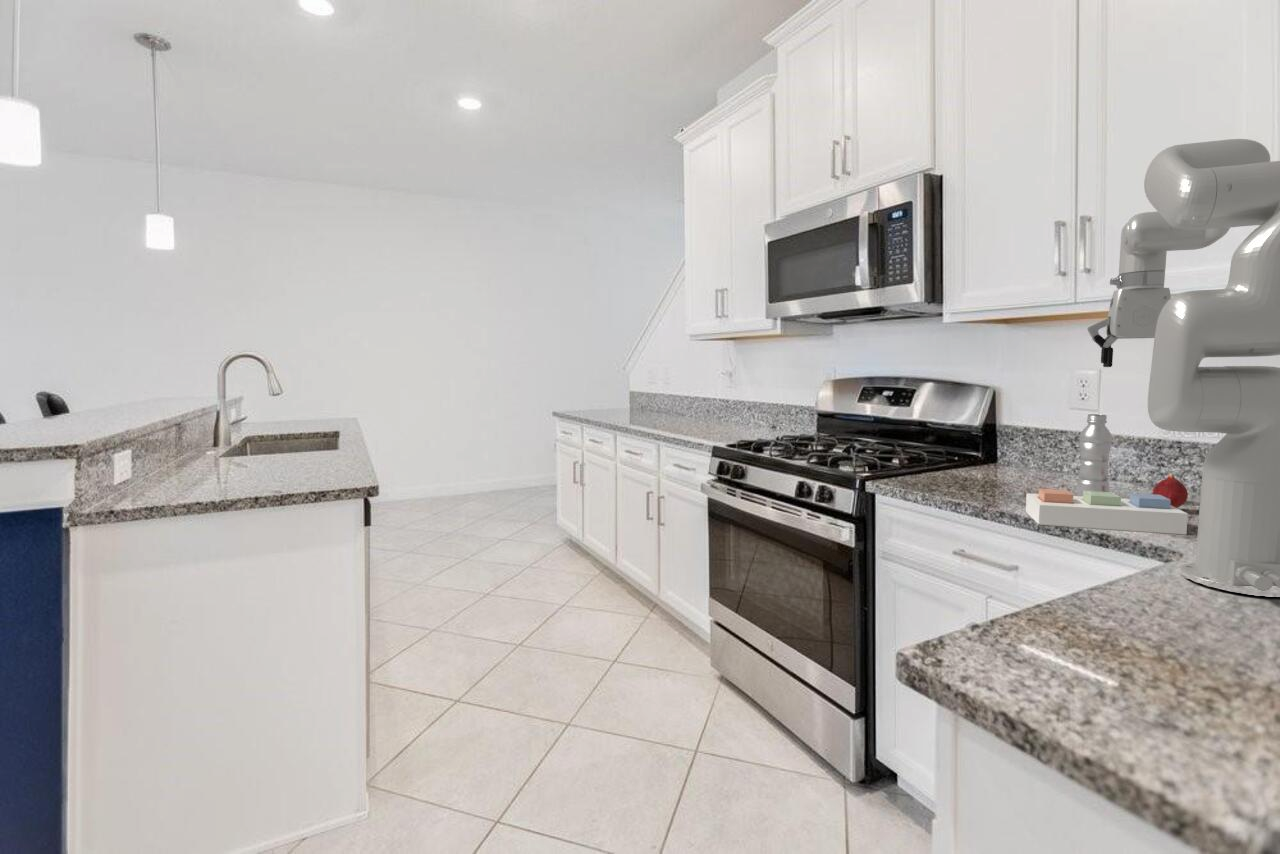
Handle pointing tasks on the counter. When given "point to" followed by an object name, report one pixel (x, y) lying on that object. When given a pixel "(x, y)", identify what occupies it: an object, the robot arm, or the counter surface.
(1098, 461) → the plastic bottle
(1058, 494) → the terracotta key
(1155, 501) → the slate key
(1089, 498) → the sage key
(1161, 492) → the onion
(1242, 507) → the robot arm
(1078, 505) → the button panel
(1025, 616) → the counter surface
